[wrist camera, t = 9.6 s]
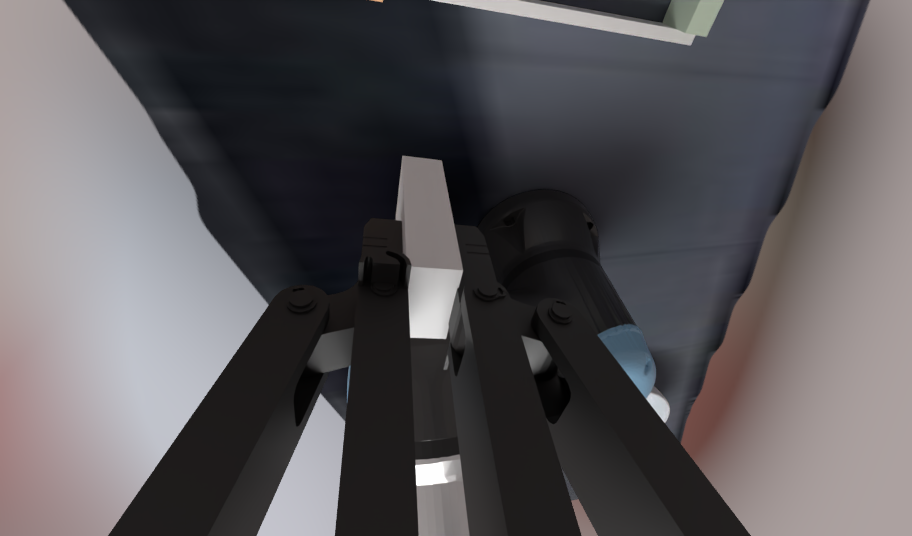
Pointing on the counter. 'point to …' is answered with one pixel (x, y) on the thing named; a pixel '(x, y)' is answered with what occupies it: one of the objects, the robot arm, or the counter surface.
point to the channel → (615, 17)
